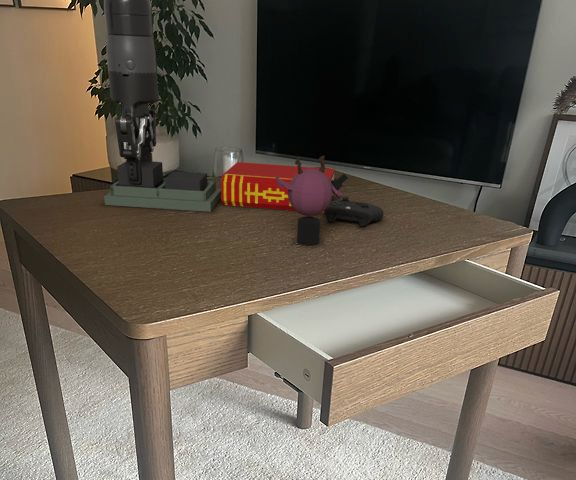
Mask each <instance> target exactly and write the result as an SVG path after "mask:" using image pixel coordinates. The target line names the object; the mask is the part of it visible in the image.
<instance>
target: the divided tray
mask: <svg viewBox="0 0 576 480" xmlns="http://www.w3.org/2000/svg"><path fill="white" fill-rule="evenodd" d="M165 178H166V177H163V180H162V181H161V182H160V183H159V184H157V185H156V186H155V187H140V186H125V185H119V181H118V180H117V181H115V182H114V183H112V184H111V185H109V189H110V190H109V192H108V193H106V194H105V195H104V196H103V200H104V205H105V206H116V207H129V208H130V207H132V208H145V209H160V210H176V211H192V212H193V211H194V212H207V213H208V212H209V213H211V212H212V211H213V209H215V207H216V206H217V205H218V203H219V202H220V201H221V188H217V186H216V185H217V184H216V182H217V181H216V180H207V188H206V189H205V190H204V191H194V190H178V189H165V181H164V179H165Z"/></svg>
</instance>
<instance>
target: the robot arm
mask: <svg viewBox="0 0 576 480" xmlns="http://www.w3.org/2000/svg"><path fill="white" fill-rule="evenodd" d="M103 13H104V24H105V32H106V45H105V47H106V48H105V49H106V50H105V51H106V62H107V73H108V83H109V93H110V99H111V101H112V102H114V103H120V104H121V105H122V107H121V109H122V111H121V115H120V117H115V119H114V123H115V130H116V137H117V144H118V145H117V147H118V151H119V152H118V154H119V157H120V158H123V159H124V160H125V162H126V164H127V175H128V182H129V183H133V184H140V183H141V182H142V172H141V161H153V162H154V160H153V153H154V150H155V147H156V146H157V133H156V132H157V130H156V129H157V128H156V127H157V126H156V125H157V124H156V123H157V122H156V110H155V109H153V108H149V105H150V104H156V103H158V102H159V99H160V98H159V97H160V96H159V81H158V63H157V51H156V46H155V40H154V25H153V23H154V22H153V11H152V5H151V0H103Z"/></svg>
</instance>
